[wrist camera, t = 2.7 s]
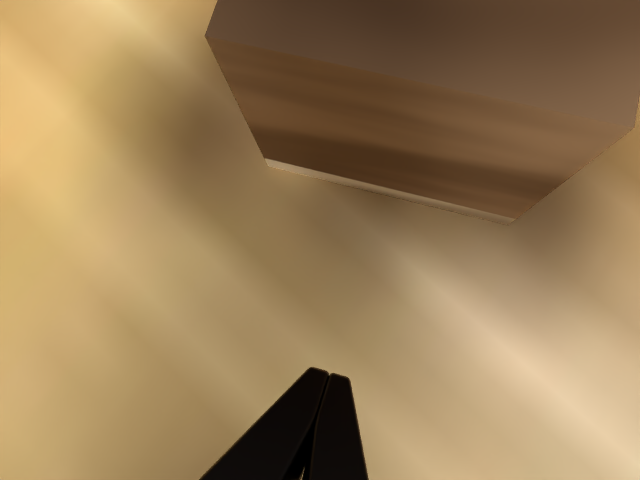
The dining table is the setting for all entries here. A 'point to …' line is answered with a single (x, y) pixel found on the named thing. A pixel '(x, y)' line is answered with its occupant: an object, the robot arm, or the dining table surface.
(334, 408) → the robot arm
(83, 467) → the dining table surface
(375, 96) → the walnut block
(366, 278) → the dining table surface
